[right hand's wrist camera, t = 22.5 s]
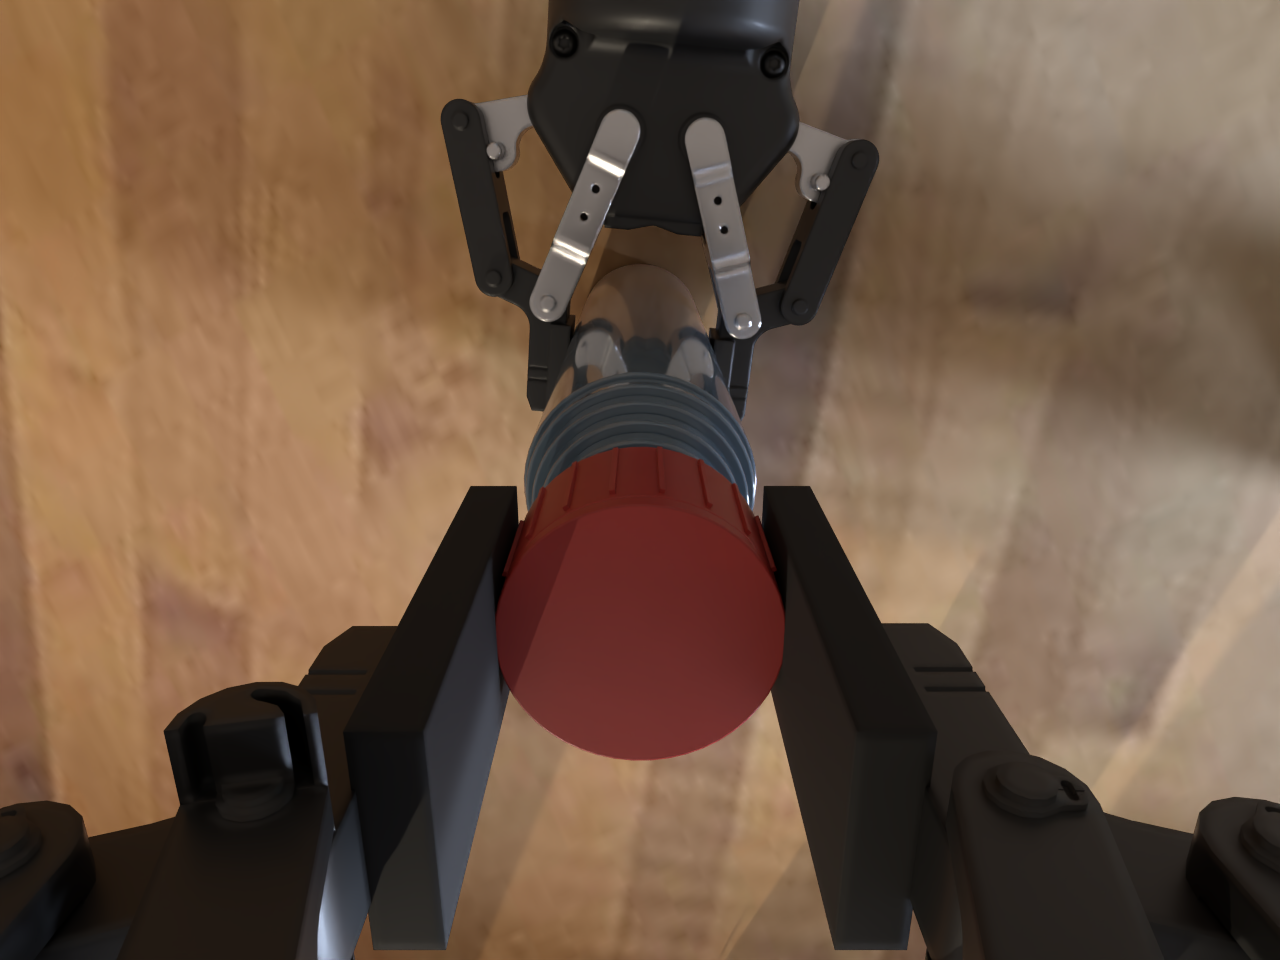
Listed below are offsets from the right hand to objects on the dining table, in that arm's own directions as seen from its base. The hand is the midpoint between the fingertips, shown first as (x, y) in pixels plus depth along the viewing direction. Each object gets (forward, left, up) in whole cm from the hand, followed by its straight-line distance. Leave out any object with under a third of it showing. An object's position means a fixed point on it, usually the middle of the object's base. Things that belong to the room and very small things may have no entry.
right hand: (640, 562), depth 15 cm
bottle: (0, 0, -23) cm, 23 cm away
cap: (0, 0, +2) cm, 2 cm away
